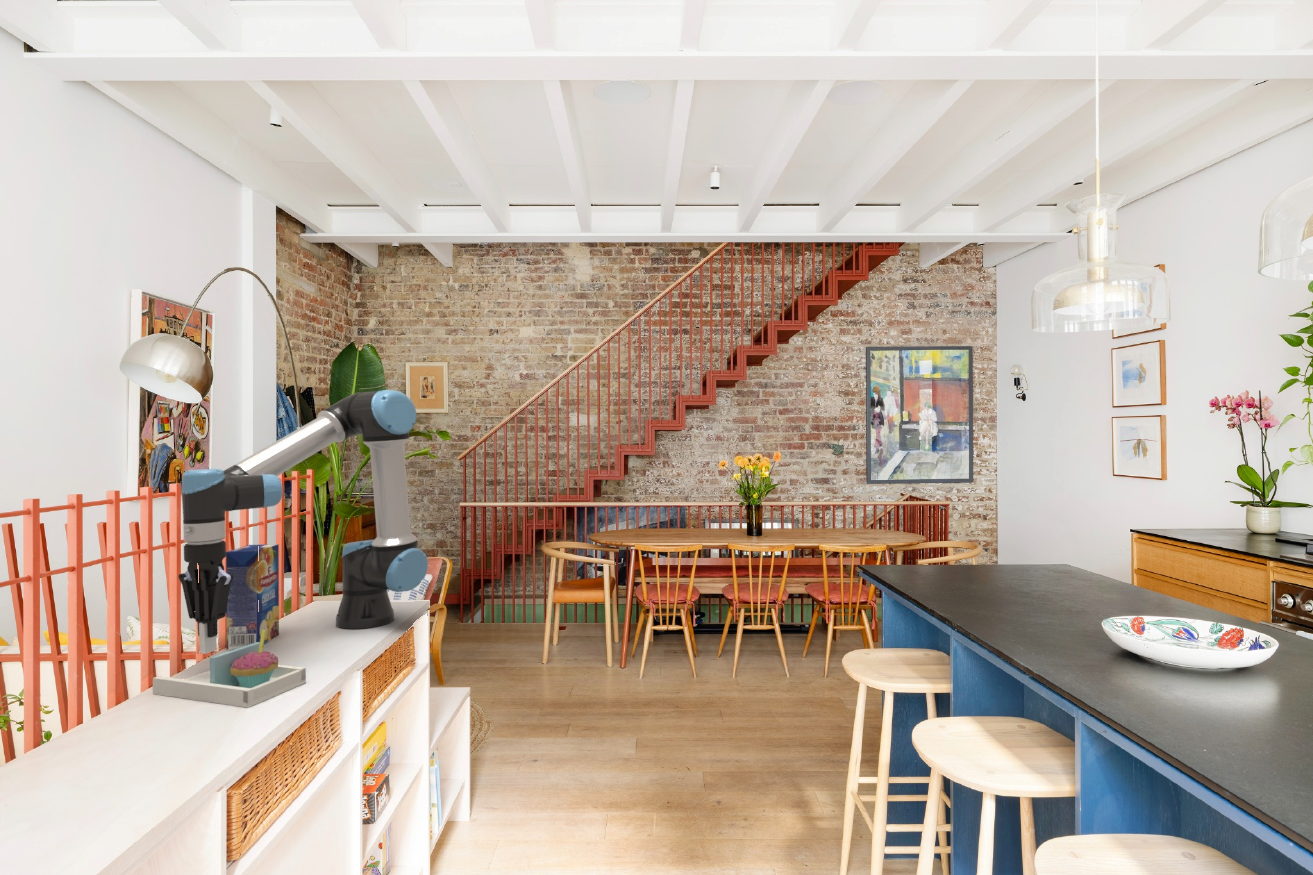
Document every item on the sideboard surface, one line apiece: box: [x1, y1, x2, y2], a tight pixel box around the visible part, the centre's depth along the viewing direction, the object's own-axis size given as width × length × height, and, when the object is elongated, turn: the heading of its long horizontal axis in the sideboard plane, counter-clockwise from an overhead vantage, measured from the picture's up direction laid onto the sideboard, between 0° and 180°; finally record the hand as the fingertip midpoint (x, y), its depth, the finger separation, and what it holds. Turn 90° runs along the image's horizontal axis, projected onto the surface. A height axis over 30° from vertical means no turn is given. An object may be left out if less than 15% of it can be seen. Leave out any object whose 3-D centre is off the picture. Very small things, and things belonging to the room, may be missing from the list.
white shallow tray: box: [152, 664, 307, 708], centre depth 142 cm, size 14×25×3 cm, turn 72°
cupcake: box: [230, 626, 279, 688], centre depth 140 cm, size 9×8×12 cm
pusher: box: [209, 642, 260, 686], centre depth 142 cm, size 11×5×7 cm, turn 162°
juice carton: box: [225, 543, 280, 651], centre depth 175 cm, size 12×8×24 cm, turn 7°
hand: (208, 651), depth 146 cm, fingers closed
